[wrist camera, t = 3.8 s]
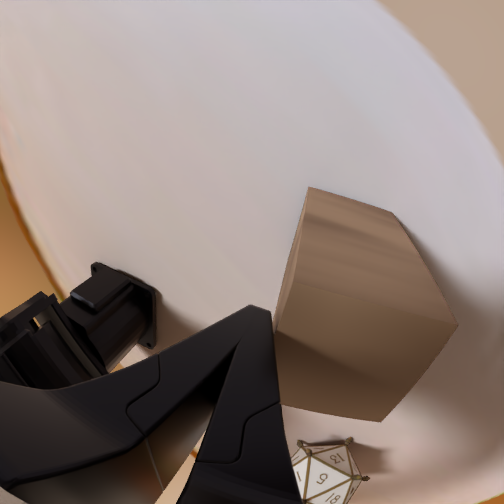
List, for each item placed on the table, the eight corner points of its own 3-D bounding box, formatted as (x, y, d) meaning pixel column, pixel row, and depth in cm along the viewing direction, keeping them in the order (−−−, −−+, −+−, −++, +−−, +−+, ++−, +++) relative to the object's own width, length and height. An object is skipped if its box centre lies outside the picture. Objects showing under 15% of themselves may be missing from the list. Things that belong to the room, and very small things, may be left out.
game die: (351, 416, 26) (401, 487, 17) (295, 459, 27) (333, 526, 19) (300, 411, 21) (360, 510, 13) (236, 459, 22) (275, 548, 14)
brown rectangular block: (362, 285, 16) (380, 422, 8) (286, 263, 16) (252, 396, 9) (391, 212, 14) (457, 325, 6) (308, 186, 14) (293, 281, 6)
